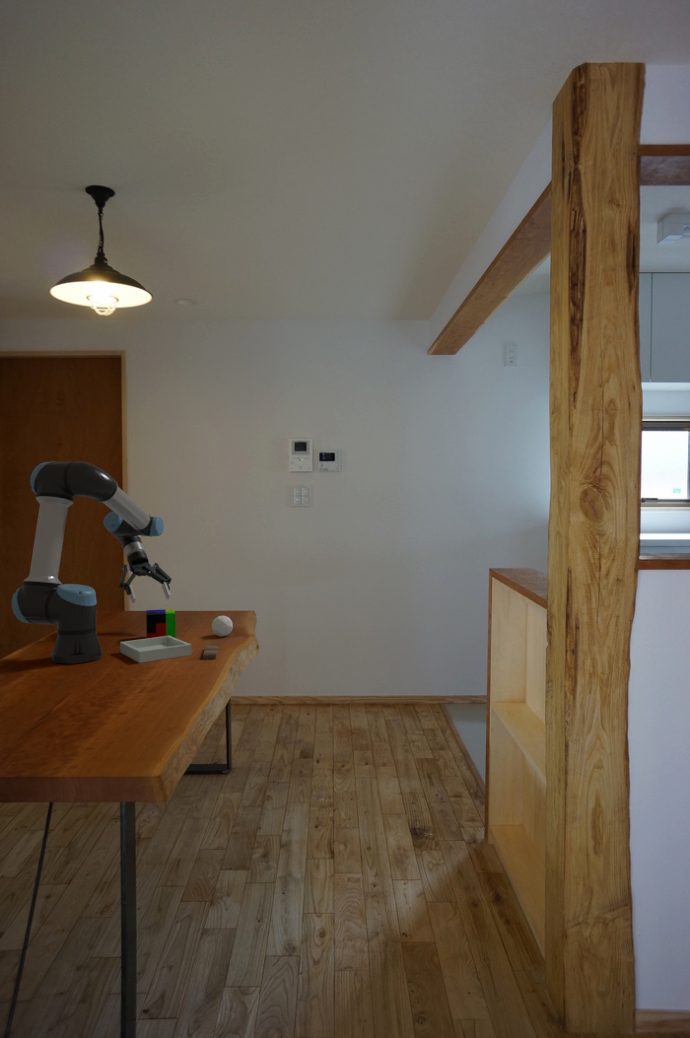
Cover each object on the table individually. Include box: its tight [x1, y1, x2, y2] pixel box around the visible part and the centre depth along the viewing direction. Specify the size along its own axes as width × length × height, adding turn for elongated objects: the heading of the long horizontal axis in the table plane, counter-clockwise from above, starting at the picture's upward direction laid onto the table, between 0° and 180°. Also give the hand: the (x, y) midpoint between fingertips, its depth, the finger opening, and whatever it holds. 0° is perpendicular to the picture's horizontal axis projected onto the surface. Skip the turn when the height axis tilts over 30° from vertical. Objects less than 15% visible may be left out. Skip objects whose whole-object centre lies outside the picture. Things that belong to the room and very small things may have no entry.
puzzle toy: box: [145, 608, 177, 639], centre depth 245 cm, size 10×10×10 cm
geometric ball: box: [211, 615, 234, 638], centre depth 250 cm, size 8×8×8 cm
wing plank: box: [202, 644, 219, 660], centre depth 222 cm, size 14×4×2 cm, turn 7°
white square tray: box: [119, 636, 192, 664], centre depth 222 cm, size 17×17×4 cm
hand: (151, 599), depth 252 cm, fingers open, 13 cm apart
